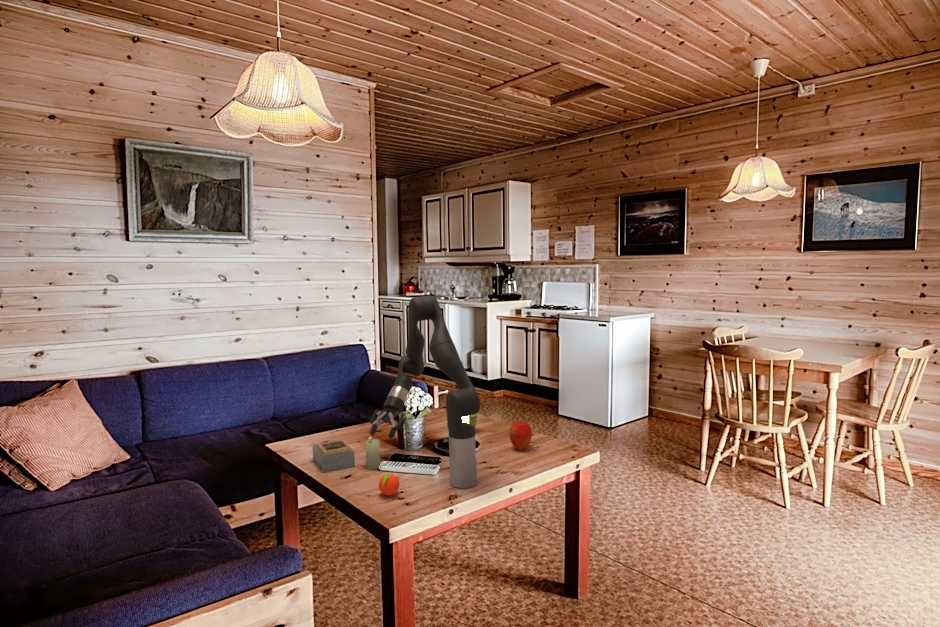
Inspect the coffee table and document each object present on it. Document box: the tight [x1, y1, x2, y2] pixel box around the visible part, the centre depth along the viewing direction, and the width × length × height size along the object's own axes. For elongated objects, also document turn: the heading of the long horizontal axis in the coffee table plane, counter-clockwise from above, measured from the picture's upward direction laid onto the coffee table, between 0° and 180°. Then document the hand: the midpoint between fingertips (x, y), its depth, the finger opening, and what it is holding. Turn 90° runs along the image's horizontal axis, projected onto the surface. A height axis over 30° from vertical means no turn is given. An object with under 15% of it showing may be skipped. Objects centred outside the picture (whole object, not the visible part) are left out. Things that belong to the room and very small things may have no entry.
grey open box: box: [311, 439, 356, 474], centre depth 220 cm, size 16×12×8 cm
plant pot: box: [470, 412, 479, 429], centre depth 254 cm, size 9×9×9 cm
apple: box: [508, 420, 533, 451], centre depth 231 cm, size 9×9×12 cm
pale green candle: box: [365, 436, 381, 470], centre depth 215 cm, size 5×5×12 cm
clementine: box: [378, 473, 400, 497], centre depth 190 cm, size 8×7×7 cm
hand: (380, 436), depth 219 cm, fingers open, 8 cm apart
